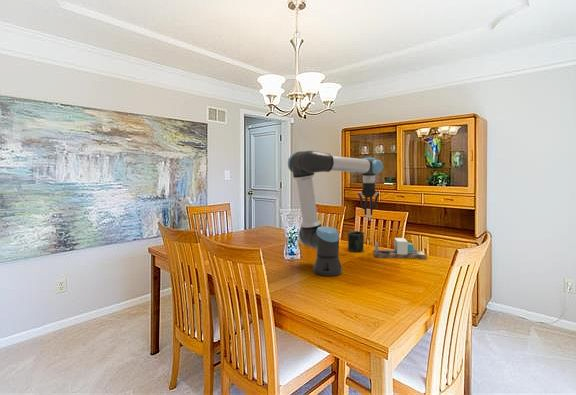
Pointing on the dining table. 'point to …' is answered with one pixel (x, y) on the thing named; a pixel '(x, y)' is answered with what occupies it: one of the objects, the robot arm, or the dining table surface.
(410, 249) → the block
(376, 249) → the sled
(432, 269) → the dining table surface
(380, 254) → the deck
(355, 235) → the mug
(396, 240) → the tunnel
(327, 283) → the dining table surface
